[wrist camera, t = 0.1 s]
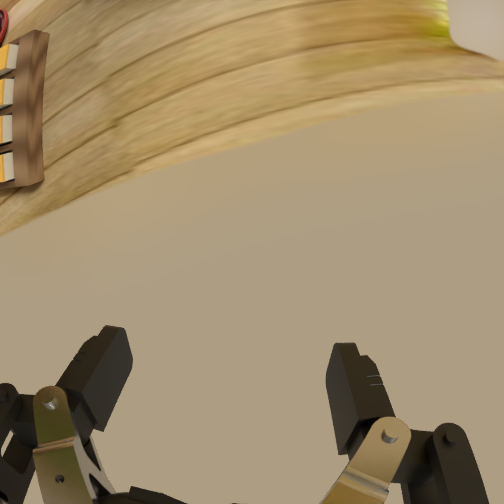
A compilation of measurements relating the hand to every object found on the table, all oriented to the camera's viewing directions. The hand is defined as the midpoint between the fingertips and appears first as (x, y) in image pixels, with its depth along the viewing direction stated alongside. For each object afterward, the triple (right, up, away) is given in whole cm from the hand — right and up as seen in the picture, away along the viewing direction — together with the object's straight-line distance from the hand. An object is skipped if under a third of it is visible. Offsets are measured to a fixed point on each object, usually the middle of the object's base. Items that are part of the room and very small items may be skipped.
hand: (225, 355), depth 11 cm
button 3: (-38, +23, +21) cm, 49 cm away
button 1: (-37, +34, +16) cm, 53 cm away
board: (-37, +27, +22) cm, 51 cm away
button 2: (-37, +29, +19) cm, 51 cm away
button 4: (-38, +18, +23) cm, 48 cm away
